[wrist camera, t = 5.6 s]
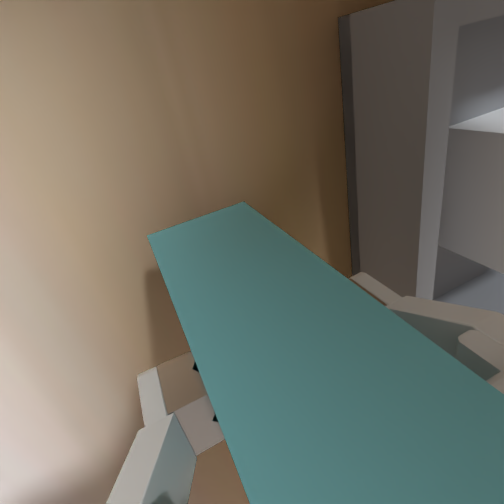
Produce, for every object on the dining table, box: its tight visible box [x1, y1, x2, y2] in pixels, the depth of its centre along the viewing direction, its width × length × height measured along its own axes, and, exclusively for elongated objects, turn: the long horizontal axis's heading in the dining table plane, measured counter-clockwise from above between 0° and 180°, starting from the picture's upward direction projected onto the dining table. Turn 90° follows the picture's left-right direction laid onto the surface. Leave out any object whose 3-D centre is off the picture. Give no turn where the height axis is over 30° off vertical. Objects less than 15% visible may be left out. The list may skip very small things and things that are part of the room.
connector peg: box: [147, 202, 504, 504], centre depth 9 cm, size 4×4×12 cm
